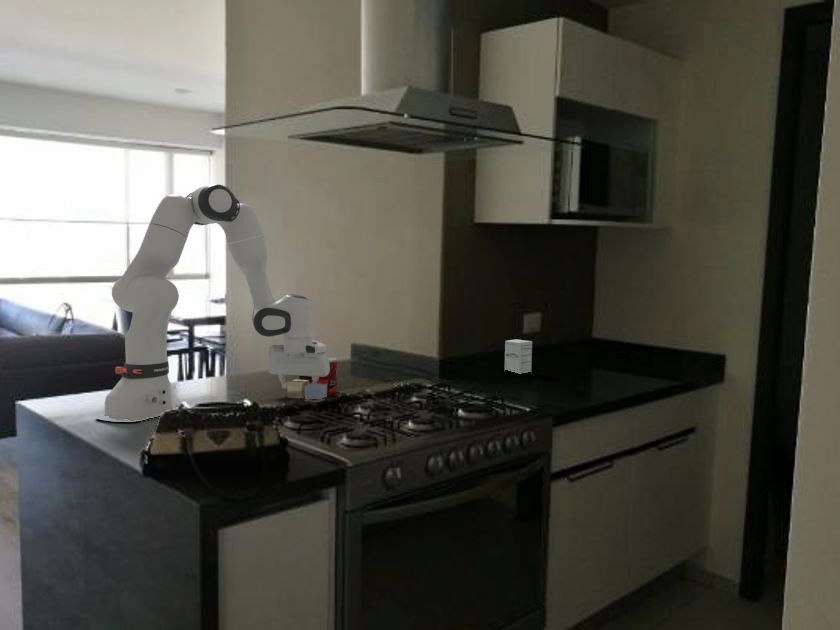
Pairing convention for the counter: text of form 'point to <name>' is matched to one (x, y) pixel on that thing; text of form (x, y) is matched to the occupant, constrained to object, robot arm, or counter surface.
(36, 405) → the counter surface
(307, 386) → the slate block
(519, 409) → the counter surface
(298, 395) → the maple block
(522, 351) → the supplement box
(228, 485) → the counter surface
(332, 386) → the canned food
